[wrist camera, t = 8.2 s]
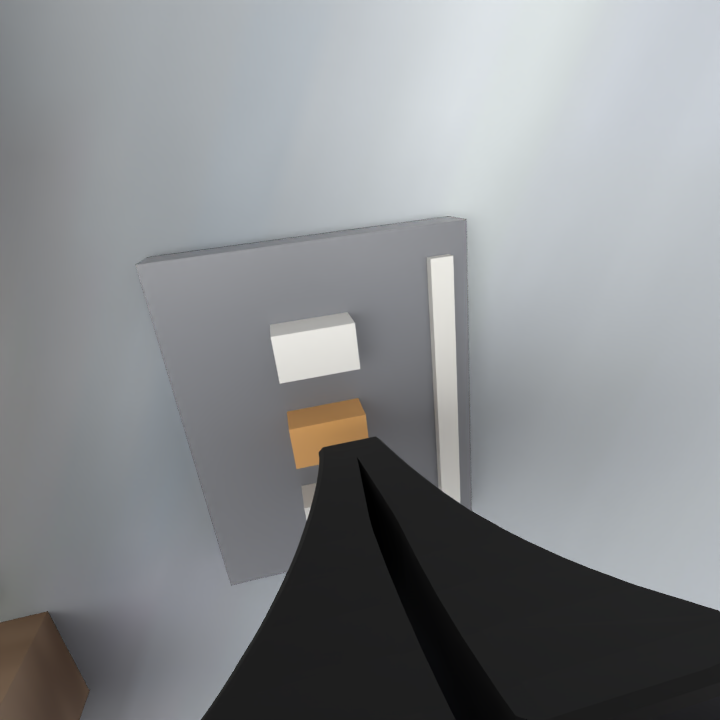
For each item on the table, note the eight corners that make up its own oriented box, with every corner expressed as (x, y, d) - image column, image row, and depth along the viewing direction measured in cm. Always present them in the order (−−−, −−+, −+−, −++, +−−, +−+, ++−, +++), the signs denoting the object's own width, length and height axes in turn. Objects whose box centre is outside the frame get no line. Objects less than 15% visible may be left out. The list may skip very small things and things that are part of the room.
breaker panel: (457, 503, 16) (485, 548, 14) (233, 556, 15) (228, 613, 13) (448, 216, 12) (484, 222, 10) (147, 257, 11) (122, 272, 9)
